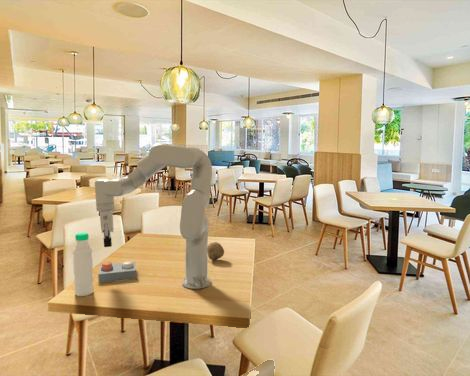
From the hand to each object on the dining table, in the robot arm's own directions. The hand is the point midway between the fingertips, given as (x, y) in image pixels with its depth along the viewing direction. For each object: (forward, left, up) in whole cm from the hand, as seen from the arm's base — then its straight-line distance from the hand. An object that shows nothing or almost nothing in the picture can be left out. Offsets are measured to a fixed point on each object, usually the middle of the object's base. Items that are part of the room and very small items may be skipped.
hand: (107, 246), depth 152 cm
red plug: (0, +1, -13) cm, 13 cm away
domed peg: (0, -8, -13) cm, 16 cm away
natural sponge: (+7, -53, -15) cm, 56 cm away
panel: (0, -4, -15) cm, 15 cm away
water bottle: (-15, +9, -15) cm, 23 cm away
